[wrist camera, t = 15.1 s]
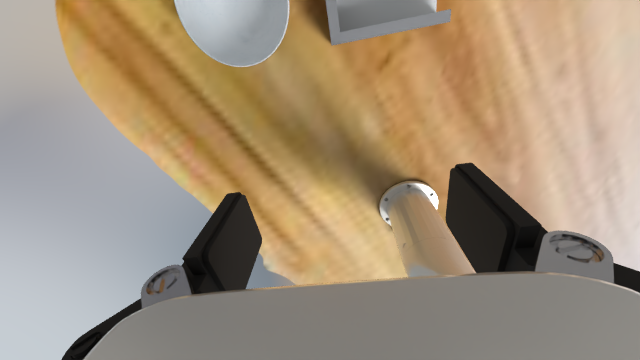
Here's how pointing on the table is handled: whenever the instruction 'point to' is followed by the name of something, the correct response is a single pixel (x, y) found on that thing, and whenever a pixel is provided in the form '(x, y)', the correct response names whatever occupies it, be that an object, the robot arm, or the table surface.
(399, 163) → the table surface
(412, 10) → the corner jig
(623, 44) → the table surface
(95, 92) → the table surface
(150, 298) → the robot arm
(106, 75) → the table surface
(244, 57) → the chinaware
